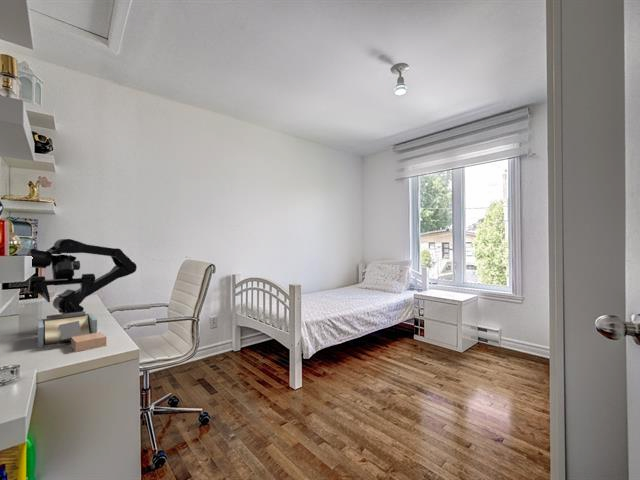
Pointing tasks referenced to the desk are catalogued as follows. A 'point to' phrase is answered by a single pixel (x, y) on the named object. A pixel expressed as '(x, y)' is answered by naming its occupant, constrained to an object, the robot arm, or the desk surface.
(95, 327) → the trapdoor frame
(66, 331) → the grey upright block
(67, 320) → the trapdoor
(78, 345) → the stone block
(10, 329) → the desk surface
